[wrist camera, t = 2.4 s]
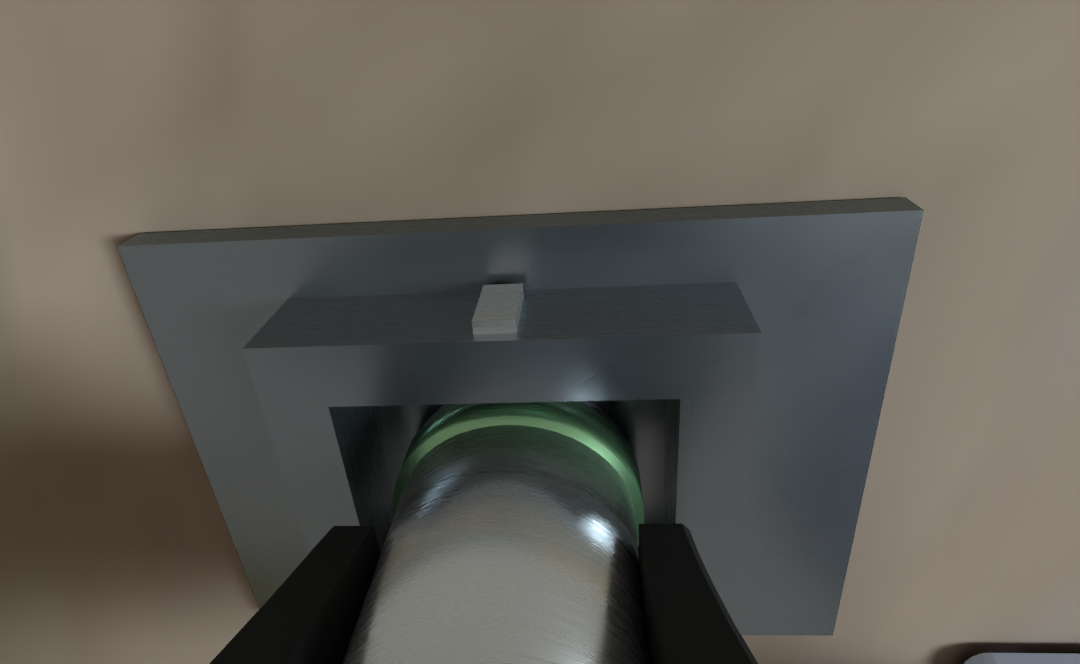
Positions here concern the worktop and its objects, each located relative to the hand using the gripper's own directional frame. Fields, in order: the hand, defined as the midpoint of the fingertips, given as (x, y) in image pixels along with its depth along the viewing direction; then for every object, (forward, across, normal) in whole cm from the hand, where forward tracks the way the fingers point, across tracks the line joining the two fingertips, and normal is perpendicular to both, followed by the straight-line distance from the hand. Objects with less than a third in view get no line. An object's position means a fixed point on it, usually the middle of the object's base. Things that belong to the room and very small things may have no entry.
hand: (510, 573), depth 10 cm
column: (+2, 0, 0) cm, 2 cm away
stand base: (+3, 0, 0) cm, 3 cm away
